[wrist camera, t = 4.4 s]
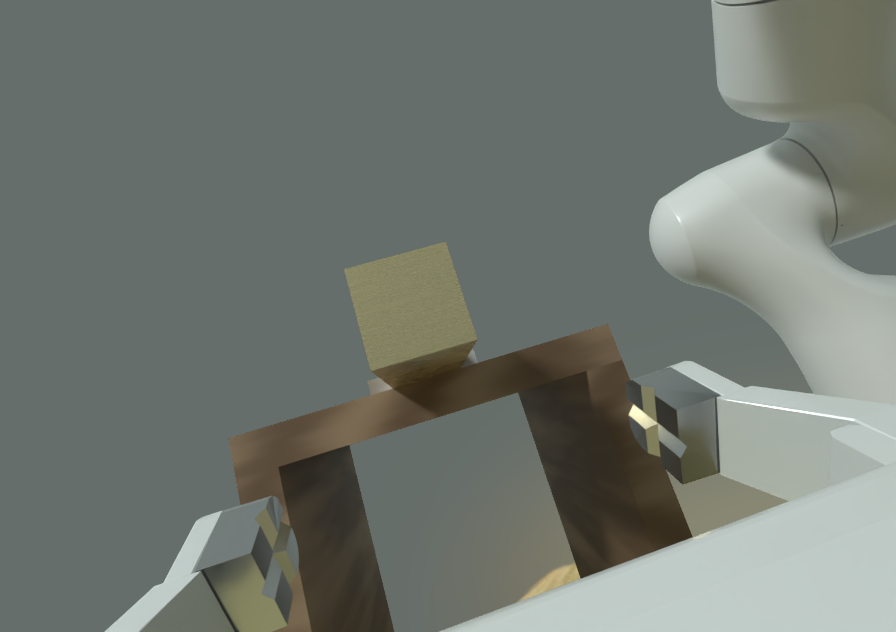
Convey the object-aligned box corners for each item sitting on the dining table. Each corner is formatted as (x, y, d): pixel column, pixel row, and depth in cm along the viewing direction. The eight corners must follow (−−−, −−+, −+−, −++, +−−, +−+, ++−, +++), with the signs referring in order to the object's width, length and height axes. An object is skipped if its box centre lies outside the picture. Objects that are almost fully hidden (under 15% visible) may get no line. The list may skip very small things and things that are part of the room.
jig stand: (633, 666, 35) (519, 337, 42) (849, 931, 17) (587, 272, 23) (400, 758, 33) (316, 397, 39) (361, 1173, 15) (217, 378, 21)
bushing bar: (449, 387, 35) (437, 346, 36) (477, 339, 14) (445, 241, 15) (408, 400, 35) (396, 358, 36) (370, 370, 14) (344, 269, 14)
